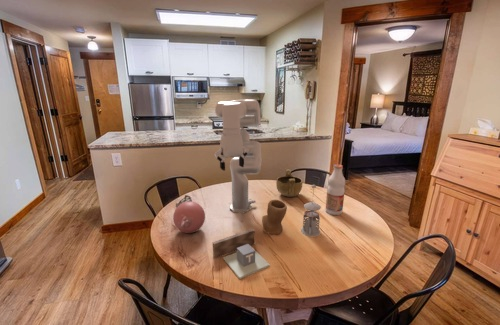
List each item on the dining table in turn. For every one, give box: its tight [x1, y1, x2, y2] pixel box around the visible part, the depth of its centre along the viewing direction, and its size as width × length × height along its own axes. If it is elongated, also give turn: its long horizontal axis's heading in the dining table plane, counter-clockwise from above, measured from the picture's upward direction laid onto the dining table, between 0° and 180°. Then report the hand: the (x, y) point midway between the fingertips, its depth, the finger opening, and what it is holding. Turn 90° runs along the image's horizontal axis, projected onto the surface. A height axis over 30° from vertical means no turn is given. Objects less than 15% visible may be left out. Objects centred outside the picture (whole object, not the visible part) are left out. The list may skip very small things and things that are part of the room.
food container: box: [175, 194, 193, 208], centre depth 144 cm, size 12×6×10 cm, turn 168°
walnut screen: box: [212, 228, 256, 259], centre depth 114 cm, size 20×2×7 cm, turn 121°
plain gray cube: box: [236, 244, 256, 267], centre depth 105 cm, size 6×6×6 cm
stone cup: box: [261, 199, 288, 235], centre depth 130 cm, size 15×12×15 cm
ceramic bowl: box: [275, 169, 303, 198], centre depth 170 cm, size 22×17×15 cm
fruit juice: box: [324, 163, 346, 216], centre depth 145 cm, size 9×9×28 cm
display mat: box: [222, 250, 271, 280], centre depth 106 cm, size 14×14×1 cm
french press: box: [300, 184, 322, 238], centre depth 125 cm, size 10×12×25 cm
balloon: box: [172, 200, 206, 234], centre depth 126 cm, size 15×20×15 cm
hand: (232, 168), depth 120 cm, fingers open, 9 cm apart
